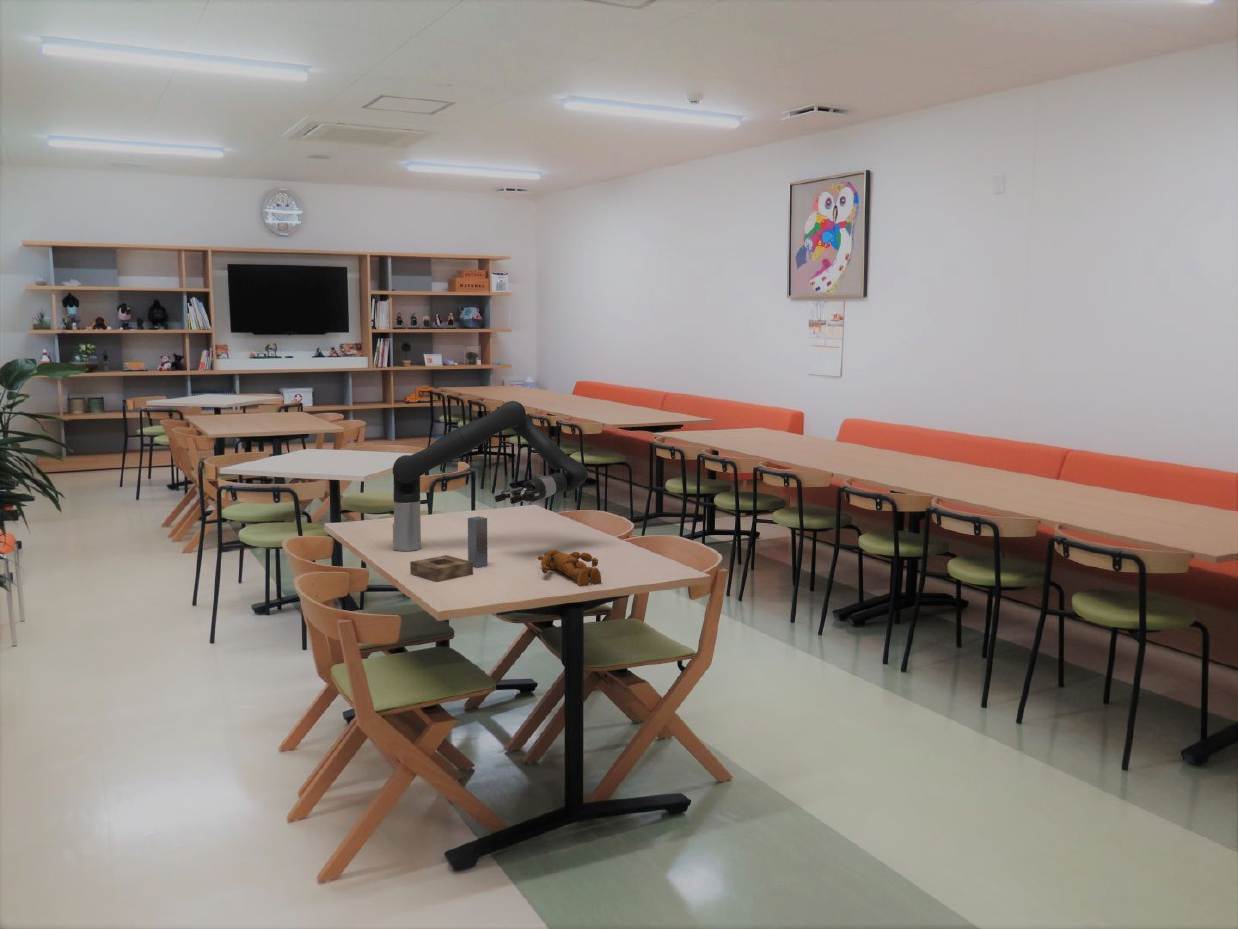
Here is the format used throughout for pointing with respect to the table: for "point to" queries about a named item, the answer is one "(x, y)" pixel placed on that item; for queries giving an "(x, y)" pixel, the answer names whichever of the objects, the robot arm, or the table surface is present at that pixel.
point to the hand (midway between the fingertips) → (503, 500)
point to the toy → (572, 566)
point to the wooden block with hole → (441, 568)
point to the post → (477, 541)
